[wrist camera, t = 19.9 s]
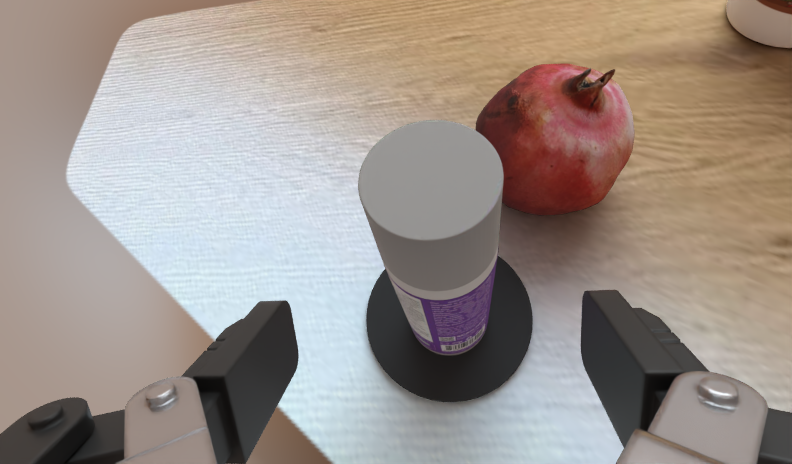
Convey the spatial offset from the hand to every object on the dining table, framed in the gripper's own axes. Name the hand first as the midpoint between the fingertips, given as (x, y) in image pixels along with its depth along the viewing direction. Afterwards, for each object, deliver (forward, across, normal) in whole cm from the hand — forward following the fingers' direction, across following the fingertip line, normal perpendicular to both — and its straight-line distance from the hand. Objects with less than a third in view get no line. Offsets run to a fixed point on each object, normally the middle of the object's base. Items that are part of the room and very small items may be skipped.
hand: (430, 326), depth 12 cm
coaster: (+14, 0, +7) cm, 15 cm away
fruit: (+20, -7, 0) cm, 22 cm away
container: (+13, 0, +7) cm, 15 cm away
